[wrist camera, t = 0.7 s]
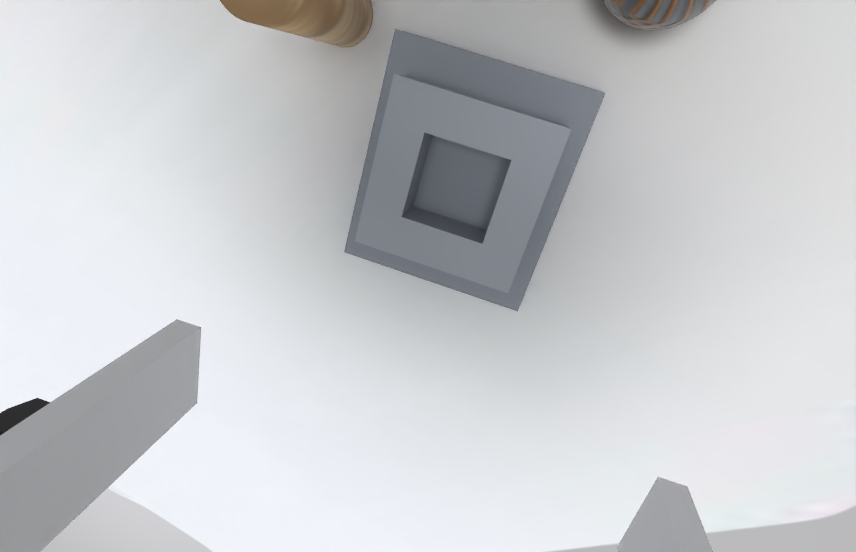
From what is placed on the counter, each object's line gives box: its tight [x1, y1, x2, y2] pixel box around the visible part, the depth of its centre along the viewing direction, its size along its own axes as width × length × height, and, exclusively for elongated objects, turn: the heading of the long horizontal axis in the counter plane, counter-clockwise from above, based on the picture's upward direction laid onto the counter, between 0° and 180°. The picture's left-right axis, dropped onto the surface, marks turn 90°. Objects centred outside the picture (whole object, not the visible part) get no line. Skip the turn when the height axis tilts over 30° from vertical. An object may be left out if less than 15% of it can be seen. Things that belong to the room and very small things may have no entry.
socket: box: [344, 29, 605, 311], centre depth 33 cm, size 16×14×5 cm
